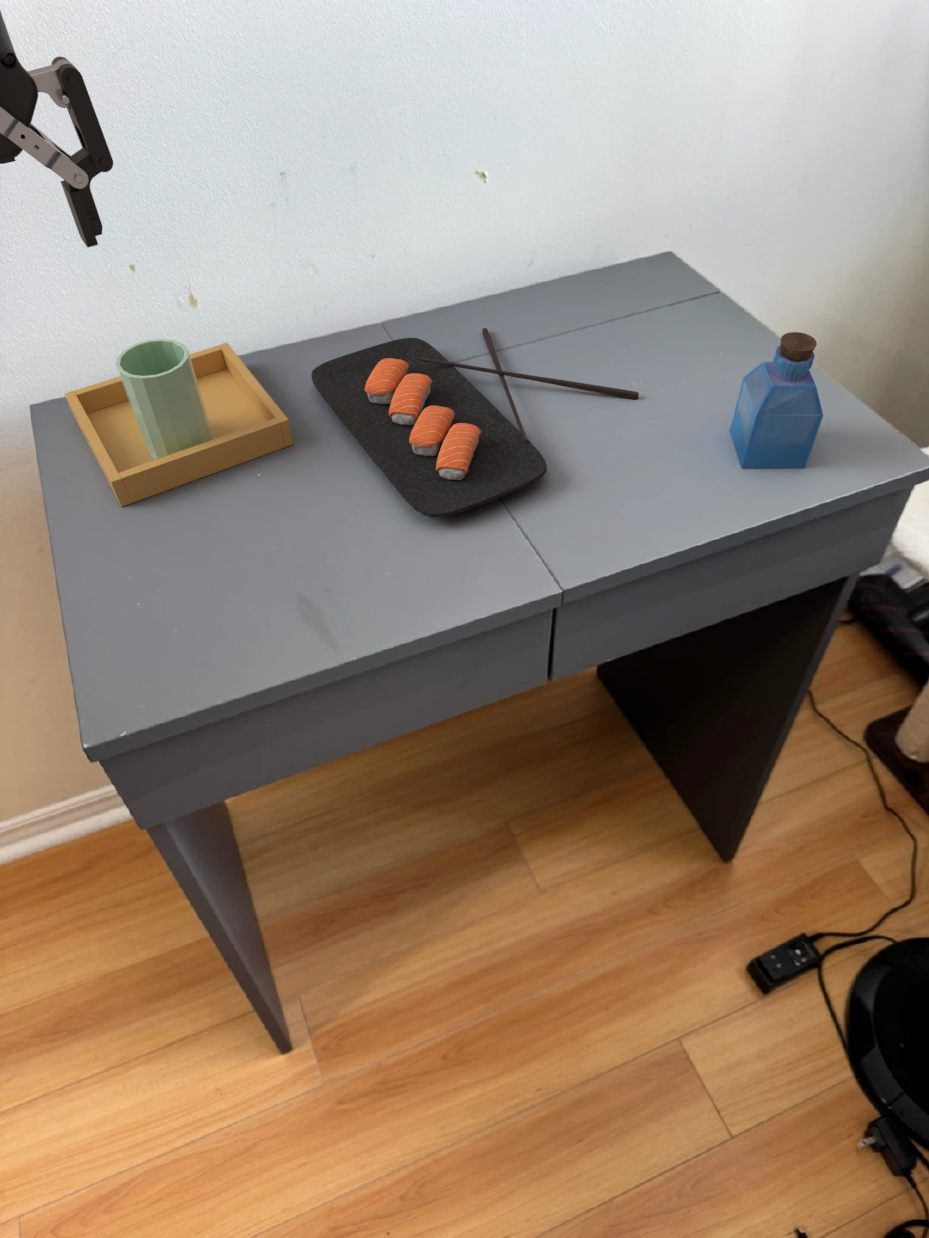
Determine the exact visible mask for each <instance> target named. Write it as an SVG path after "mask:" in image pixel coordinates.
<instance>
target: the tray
mask: <svg viewBox="0 0 929 1238" xmlns="http://www.w3.org/2000/svg"><path fill="white" fill-rule="evenodd" d="M189 354H190V358H191V361H192V364H193V368H194V371H195V375H196V378H197V382H198V385H199V389H200V392H201V396H202V399H203V403H204V406H205V410H206V413H207V417H208V420H209V424H210V427H211V430H212V436H213V440H211V441H208V442H205V443H202V444H199V445H197V446H194V447H191V448H188V449H185V450H182V451H179V452H177V453H174V454H171V455H168V456H165V457H162V458H159V459H157V460H153V459H152V458H151V457H150V456H149V454H148V452H147V449H146V447H145V445H144V442H143V439H142V437H141V434H140V431H139V428H138V426H137V423H136V420H135V417H134V415H133V412H132V409H131V406H130V404H129V401H128V398H127V395H126V393H125V390H124V387H123V384H122V382H121V379H120V376H119V375H118V376H116V377H113V378H109V379H106V380H103V381H100V382H97V383H93V384H91V385H88V386H84V387H80V388H78V389H75V390H72V391H67V392H65V393H64V397H65V399H66V401H67V404H68V406H69V408H70V410H71V413H72V415H73V417H74V420H75V421H76V423H77V425H78V427H79V429H80V431H81V433H82V435H83V437H84V439H85V441H86V443H87V445H88V446H89V448H90V450H91V452H92V454H93V456H94V458H95V461H96V462H97V463H98V466H99V467H100V469H101V471H102V473H103V475H104V477H105V479H106V480H107V482H108V484H109V486H110V488H111V490H112V491H113V494H114V497H115V498H116V499H117V502H118V503H119V506H120V507H121V508H123V507H125V506H128V505H131V504H134V503H136V502H139V501H142V500H145V499H147V498H150V497H153V496H155V495H158V494H161V493H165V492H166V491H169V490H171V489H175V488H177V487H180V486H183V485H186V484H189V483H192V482H194V481H197V480H200V479H203V478H205V477H208V476H210V475H214V474H216V473H219V472H222V471H225V470H227V469H229V468H232V467H235V466H238V465H241V464H243V463H246V462H249V461H252V460H254V459H257V458H259V457H263V456H265V455H268V454H271V453H273V452H277V451H279V450H282V449H284V448H287V447H290V446H292V445H294V439H293V435H292V430H291V425H290V421H289V418H288V417H287V416H286V415H285V413H284V412H283V411H282V409H280V407H279V406H278V405H277V403H276V402H275V400H274V399H273V398H272V397H271V396H270V395H269V393H268V392H267V390H265V387H263V386H262V384H261V383H260V382H259V381H258V380H257V378H256V377H255V376H254V374H252V372H251V371H250V370H249V368H248V367H247V366H246V365H245V363H244V362H243V360H242V359H241V358H240V357H239V356H238V355H237V353H236V352H235V351H234V350H233V348H232V347H231V345H230V344H229V343H228V342H223V343H221V344H218V345H215V346H212V347H208V348H205V349H201V350H199V351H196V352H193V353H189Z"/></svg>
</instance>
